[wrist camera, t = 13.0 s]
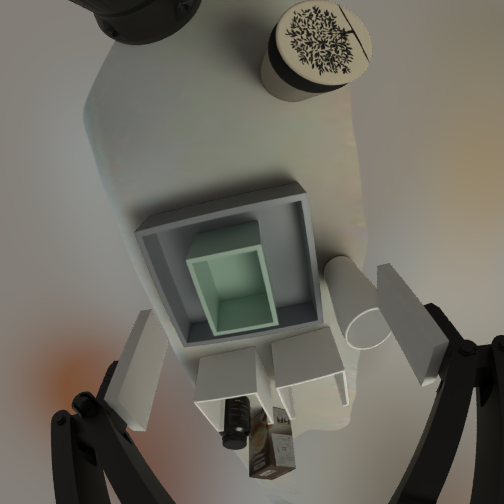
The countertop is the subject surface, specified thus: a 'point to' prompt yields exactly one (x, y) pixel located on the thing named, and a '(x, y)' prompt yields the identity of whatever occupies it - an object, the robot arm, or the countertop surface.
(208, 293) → the box
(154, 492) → the robot arm
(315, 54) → the travel mug
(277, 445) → the coffee box
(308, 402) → the countertop surface
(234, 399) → the supplement bottle
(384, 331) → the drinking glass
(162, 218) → the big crate
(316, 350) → the white cubby shelf
